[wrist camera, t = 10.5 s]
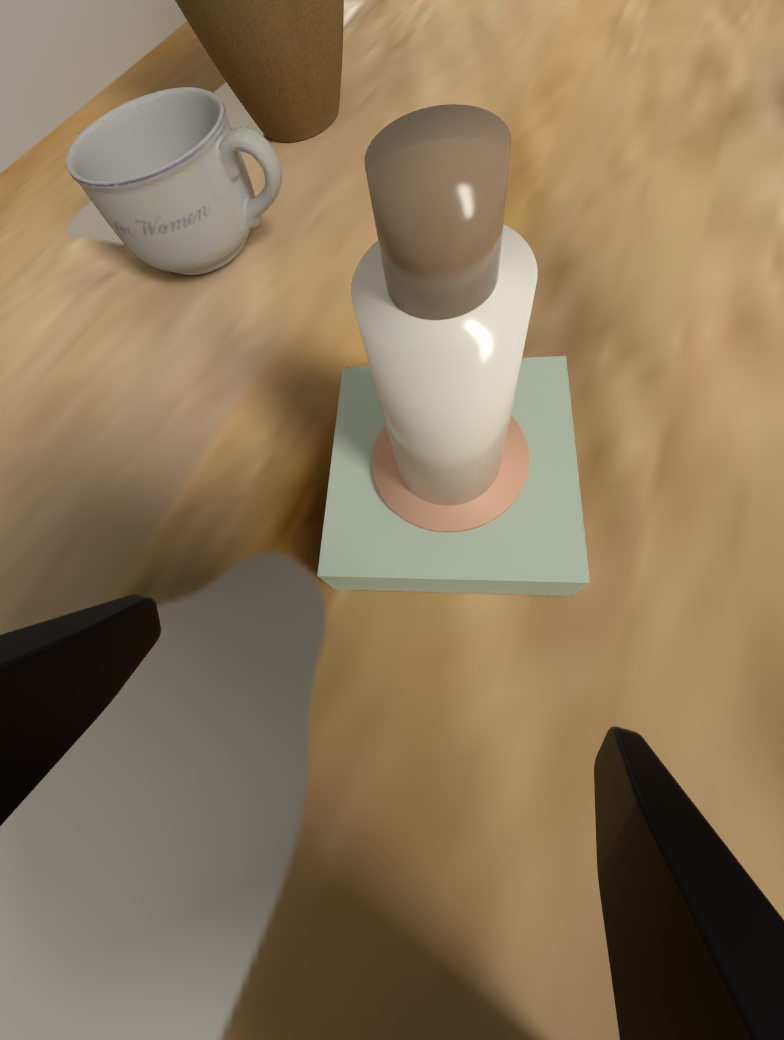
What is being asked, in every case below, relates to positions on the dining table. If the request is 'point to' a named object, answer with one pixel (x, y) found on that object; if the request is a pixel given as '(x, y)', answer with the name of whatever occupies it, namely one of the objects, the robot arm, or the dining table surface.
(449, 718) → the dining table surface
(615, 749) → the robot arm
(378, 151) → the cosmetic bottle
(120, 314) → the dining table surface
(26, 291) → the dining table surface
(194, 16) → the plant pot
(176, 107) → the teacup
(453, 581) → the stacking base
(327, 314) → the dining table surface
